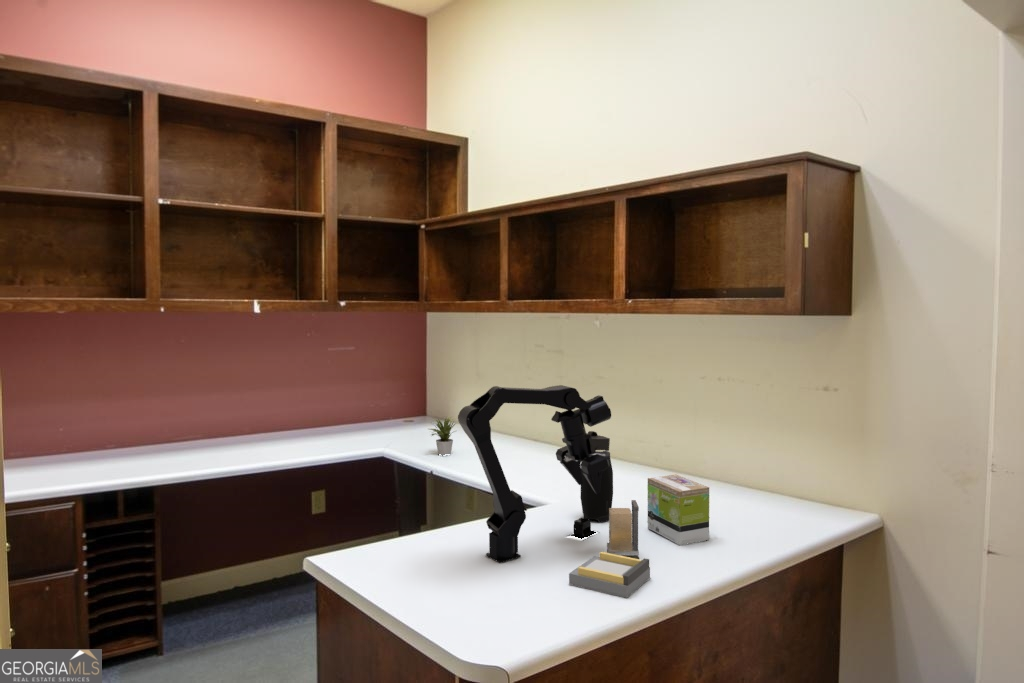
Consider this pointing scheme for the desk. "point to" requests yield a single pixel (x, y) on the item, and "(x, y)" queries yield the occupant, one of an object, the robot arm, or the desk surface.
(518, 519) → the robot arm
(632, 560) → the dock
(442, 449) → the house plant
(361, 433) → the desk surface
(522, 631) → the desk surface
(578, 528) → the build plate
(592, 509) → the portable speaker
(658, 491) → the tea box
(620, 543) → the trolley
